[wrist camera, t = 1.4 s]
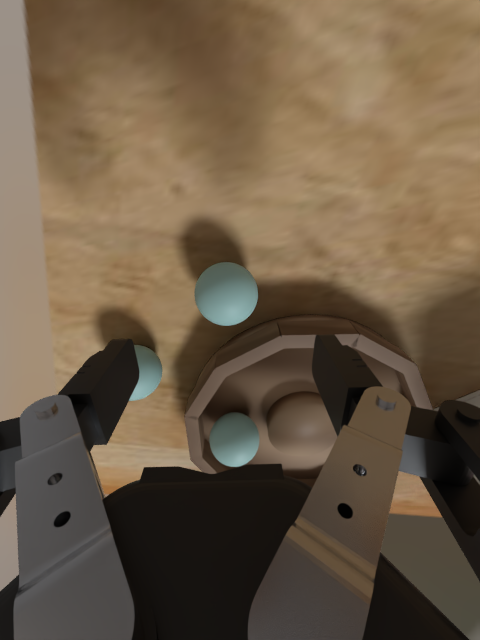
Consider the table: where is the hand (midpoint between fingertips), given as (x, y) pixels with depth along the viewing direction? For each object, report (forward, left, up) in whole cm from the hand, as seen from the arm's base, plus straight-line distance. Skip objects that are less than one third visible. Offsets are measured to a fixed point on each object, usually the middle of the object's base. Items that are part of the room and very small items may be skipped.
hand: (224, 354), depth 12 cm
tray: (+12, +6, -8) cm, 15 cm away
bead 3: (+12, 0, -5) cm, 13 cm away
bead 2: (0, 0, -6) cm, 6 cm away
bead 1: (+6, -7, -6) cm, 11 cm away
